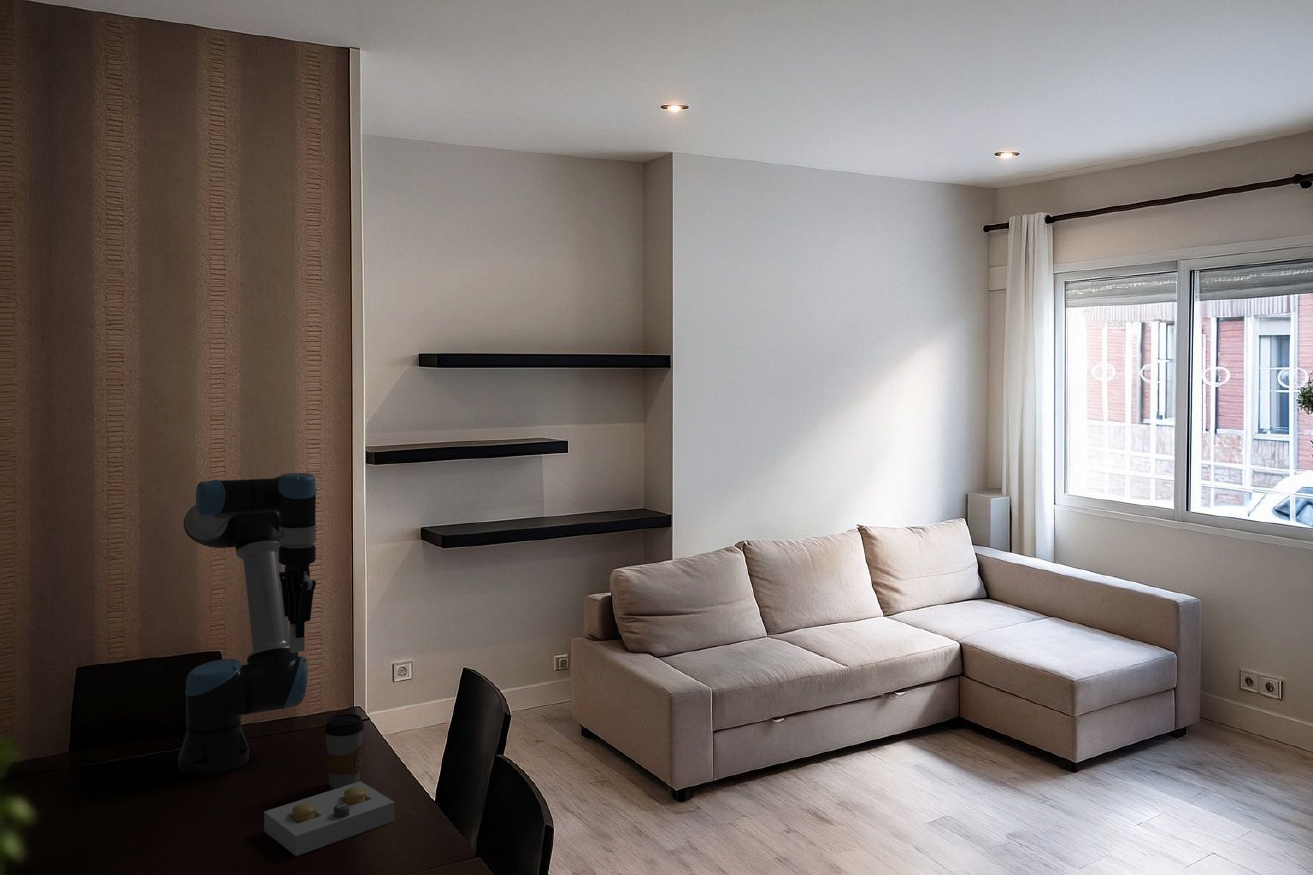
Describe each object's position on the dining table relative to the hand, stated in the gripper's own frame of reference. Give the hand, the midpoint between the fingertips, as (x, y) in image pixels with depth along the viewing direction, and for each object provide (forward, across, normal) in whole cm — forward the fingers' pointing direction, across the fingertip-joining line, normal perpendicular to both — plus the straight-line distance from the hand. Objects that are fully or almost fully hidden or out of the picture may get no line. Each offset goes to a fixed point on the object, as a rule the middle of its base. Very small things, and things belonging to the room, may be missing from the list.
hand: (297, 651), depth 207 cm
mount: (+31, +21, -3) cm, 37 cm away
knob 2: (+29, +21, +3) cm, 36 cm away
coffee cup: (+31, +5, +8) cm, 33 cm away
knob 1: (+29, +21, -8) cm, 37 cm away
